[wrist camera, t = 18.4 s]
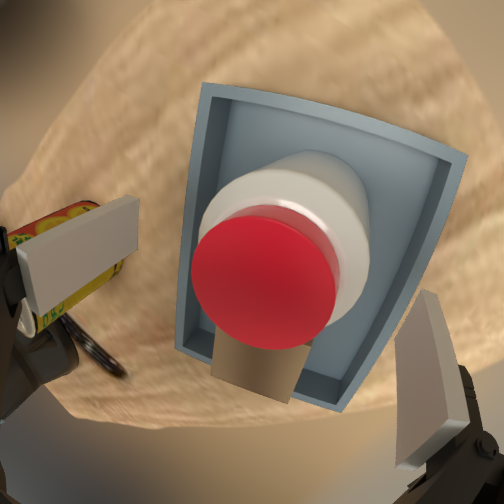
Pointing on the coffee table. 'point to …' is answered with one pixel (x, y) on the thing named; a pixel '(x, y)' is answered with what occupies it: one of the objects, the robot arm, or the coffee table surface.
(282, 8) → the coffee table surface
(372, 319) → the blue-grey tray
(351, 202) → the pill bottle
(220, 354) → the walnut cube
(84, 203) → the beverage can
